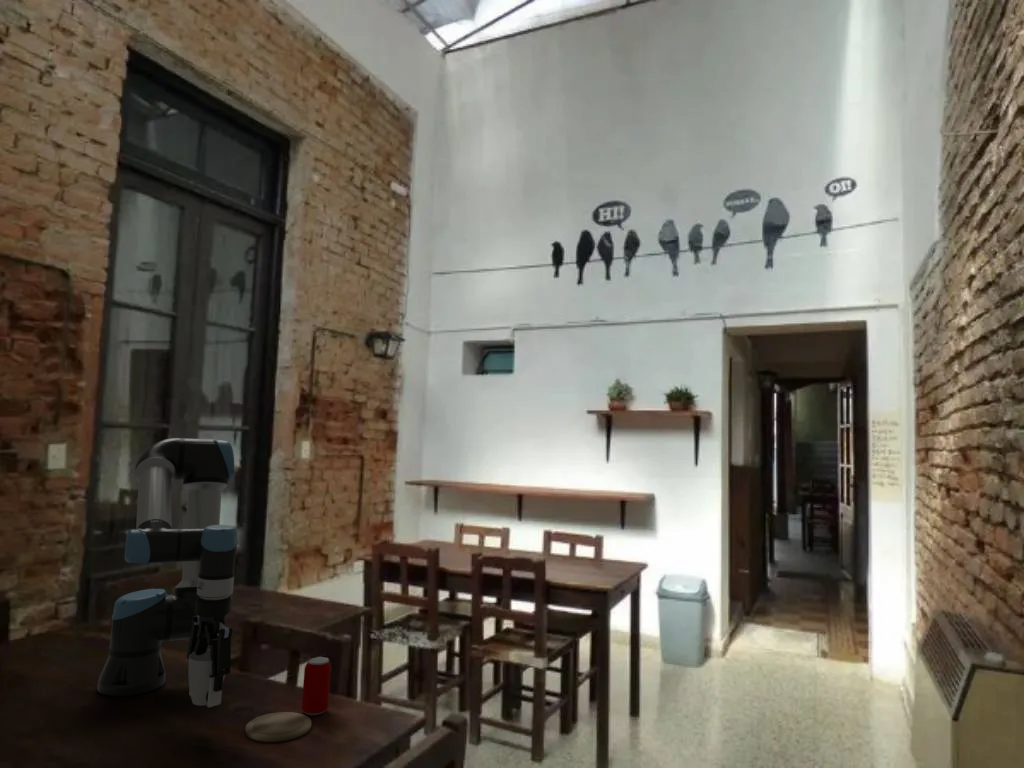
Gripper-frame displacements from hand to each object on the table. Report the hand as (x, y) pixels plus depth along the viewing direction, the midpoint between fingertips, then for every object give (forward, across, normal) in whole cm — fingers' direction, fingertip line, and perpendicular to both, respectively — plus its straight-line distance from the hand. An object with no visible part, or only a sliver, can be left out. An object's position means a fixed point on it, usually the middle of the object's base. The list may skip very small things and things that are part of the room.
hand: (204, 699), depth 147 cm
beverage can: (+6, +10, +22) cm, 25 cm away
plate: (+6, +12, +12) cm, 18 cm away
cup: (+1, 0, 0) cm, 1 cm away
